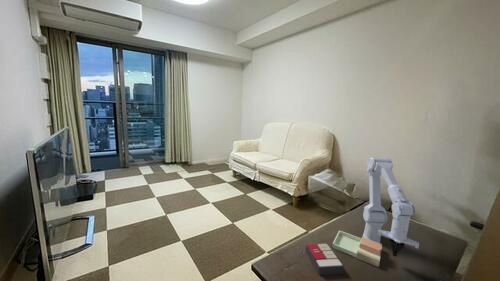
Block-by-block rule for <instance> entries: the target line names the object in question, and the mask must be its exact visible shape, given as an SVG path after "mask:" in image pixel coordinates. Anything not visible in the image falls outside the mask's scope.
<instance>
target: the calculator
mask: <svg viewBox="0 0 500 281" xmlns="http://www.w3.org/2000/svg"><path fill="white" fill-rule="evenodd" d="M305 252H306V254H307V256H308V258H309V259H310V261H311V263H312V264H313V267H314V269H315V271H316V273H317V275H318V276H327V275H328V276H329V275H342V274H344V266H345V265H344V264H343V263H342V262H341V261H340V259H339V258H338V257H337V256H336V254H335V252H334V251H333V250H332V249H331V247H330V246H329V245H328V244H327V243H317V244H316V243H315V244H314V243H310V244H308V243H307V244H306V245H305Z"/></svg>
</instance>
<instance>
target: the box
mask: <svg viewBox="0 0 500 281" xmlns="http://www.w3.org/2000/svg"><path fill="white" fill-rule="evenodd" d="M361 238H362V237H359V236H356V235H353V234H351V233H348V232H345V231H341V230H338V232H337V234H336V235H335V238H334V240H333V242H332V244H331V248H332V249H334V250H336V251H339V252H341V253H344V254H346V255H349V256H351V257H353V258H356V256H357V251H358V248H359V244H360V241H361ZM356 259H357V258H356Z"/></svg>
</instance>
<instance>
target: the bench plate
mask: <svg viewBox="0 0 500 281" xmlns="http://www.w3.org/2000/svg"><path fill="white" fill-rule="evenodd" d="M360 238H361V240H362V237H360ZM360 243H361V241H360ZM380 244H381V248H380V254H379V255H376V254H374V253H371V252H368V251H366V250H363V249H361V248H360V244H359V248H358V251H357V256H356V259H358V260H360V261H362V262H365V263H368V264H370V265H372V266H374V267H377V268H380V261H381V255H382V254H381V253H382V250H383V249H382V248H383V244H382V243H380Z"/></svg>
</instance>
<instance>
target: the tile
mask: <svg viewBox="0 0 500 281" xmlns="http://www.w3.org/2000/svg"><path fill="white" fill-rule="evenodd" d="M361 238H362V240H361V243H360V248H361V249H363V250H366V251H368V252H371V253H374V254H376V255H379V254H380V248H381V244H382V243H381V242H380V243H377V242H374V241H372V240H369V239H366V238H363V236H361Z"/></svg>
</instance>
